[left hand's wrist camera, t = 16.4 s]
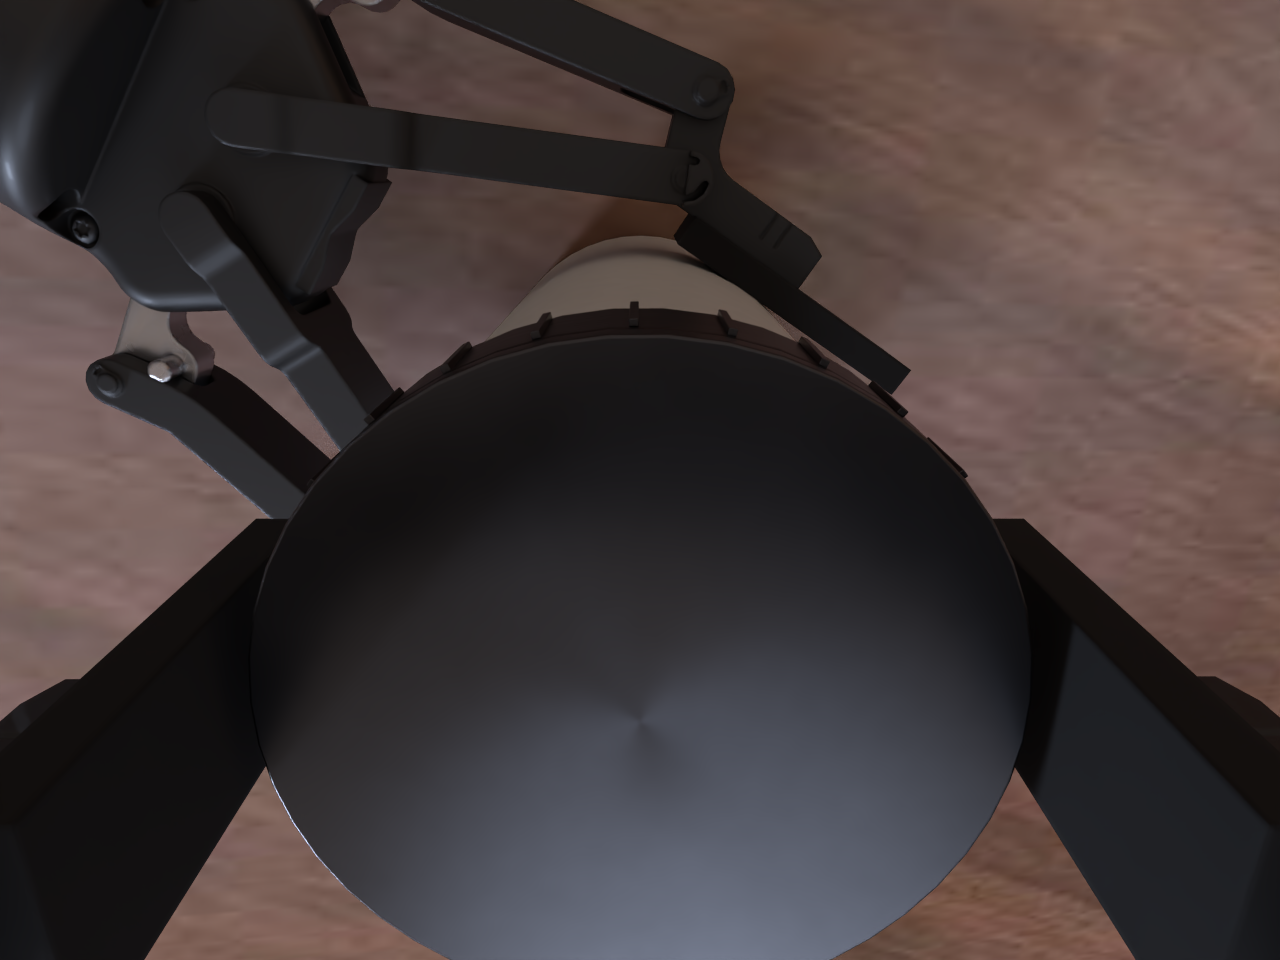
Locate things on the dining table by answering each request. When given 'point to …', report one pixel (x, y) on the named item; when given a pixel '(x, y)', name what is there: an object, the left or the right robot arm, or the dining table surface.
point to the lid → (640, 650)
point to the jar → (636, 285)
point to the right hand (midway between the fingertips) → (775, 511)
